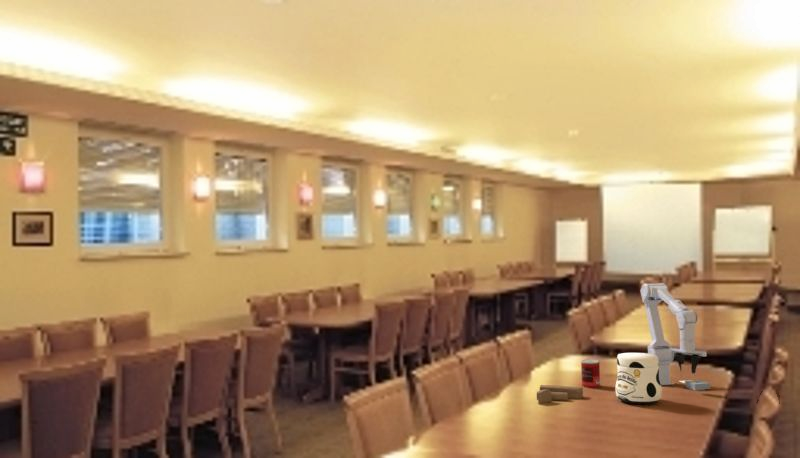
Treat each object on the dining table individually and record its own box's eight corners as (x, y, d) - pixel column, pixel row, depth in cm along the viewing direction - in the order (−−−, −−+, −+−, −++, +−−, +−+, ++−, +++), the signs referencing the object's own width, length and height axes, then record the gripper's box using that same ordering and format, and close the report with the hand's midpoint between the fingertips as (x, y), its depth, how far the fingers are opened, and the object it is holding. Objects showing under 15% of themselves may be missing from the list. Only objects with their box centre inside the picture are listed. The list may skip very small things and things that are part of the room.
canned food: (598, 384, 310) (597, 359, 310) (601, 388, 302) (601, 362, 302) (580, 384, 311) (579, 359, 311) (583, 388, 303) (582, 362, 303)
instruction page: (690, 385, 304) (690, 385, 304) (678, 381, 314) (678, 380, 314) (705, 385, 305) (705, 384, 305) (693, 380, 314) (693, 380, 314)
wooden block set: (538, 382, 292) (582, 383, 287) (538, 396, 292) (583, 397, 287) (535, 390, 275) (582, 392, 271) (535, 405, 275) (583, 407, 271)
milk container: (611, 404, 273) (610, 357, 273) (620, 395, 288) (619, 351, 289) (658, 408, 265) (657, 360, 265) (664, 399, 280) (663, 353, 281)
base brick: (694, 391, 295) (694, 383, 295) (685, 387, 302) (685, 380, 302) (710, 390, 296) (709, 382, 296) (700, 386, 303) (700, 379, 303)
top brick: (681, 376, 291) (681, 363, 291) (684, 374, 294) (684, 362, 294) (691, 377, 288) (690, 364, 288) (694, 376, 291) (694, 363, 291)
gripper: (666, 339, 293) (666, 371, 293) (701, 342, 283) (702, 375, 283) (672, 337, 298) (673, 369, 298) (708, 339, 289) (708, 373, 288)
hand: (688, 372), depth 291 cm, fingers closed on top brick, 4 cm apart
